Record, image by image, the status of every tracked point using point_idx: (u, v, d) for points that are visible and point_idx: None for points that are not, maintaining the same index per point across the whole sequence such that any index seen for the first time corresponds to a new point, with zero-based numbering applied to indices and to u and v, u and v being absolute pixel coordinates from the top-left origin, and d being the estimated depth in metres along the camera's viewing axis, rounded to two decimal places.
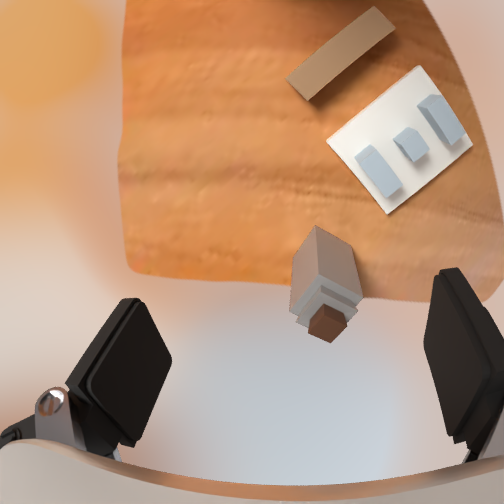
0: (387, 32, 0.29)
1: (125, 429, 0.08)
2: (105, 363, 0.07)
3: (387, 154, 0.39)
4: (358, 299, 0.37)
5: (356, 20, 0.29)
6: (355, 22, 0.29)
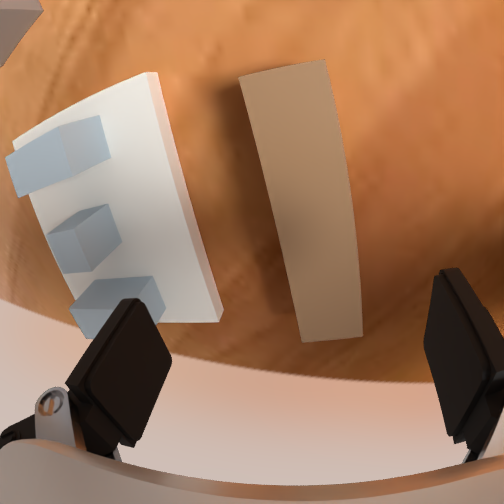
0: (302, 326, 0.19)
1: (125, 429, 0.08)
2: (105, 363, 0.07)
3: (86, 181, 0.19)
4: None
5: (357, 293, 0.17)
6: (355, 289, 0.17)
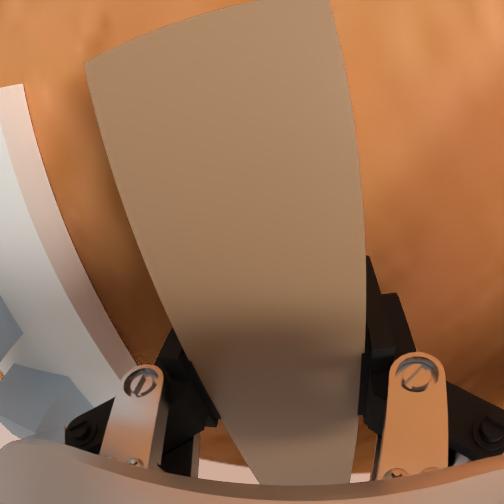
0: (260, 476, 0.11)
1: (212, 406, 0.08)
2: None
3: None
4: None
5: (348, 457, 0.09)
6: (345, 454, 0.09)
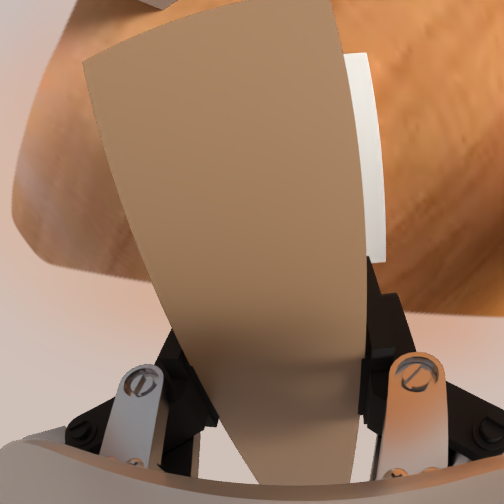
0: (260, 477, 0.11)
1: (213, 406, 0.08)
2: None
3: None
4: None
5: (348, 457, 0.09)
6: (345, 455, 0.09)
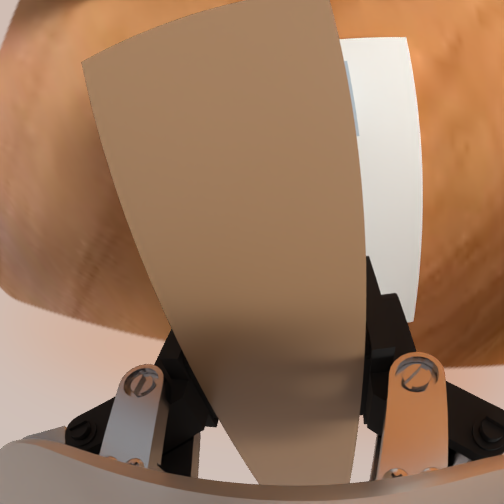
0: (259, 477, 0.11)
1: None
2: None
3: None
4: None
5: (348, 458, 0.09)
6: (345, 455, 0.09)
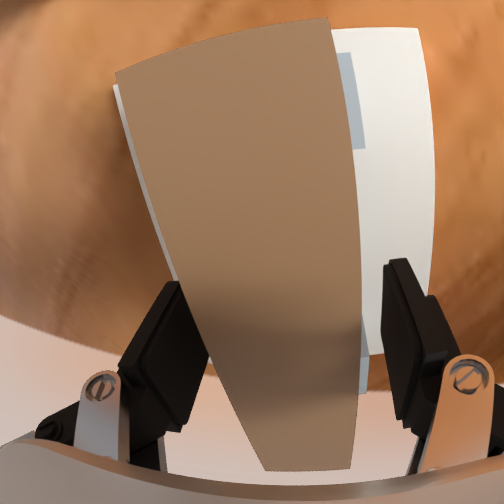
0: (264, 460, 0.12)
1: (174, 413, 0.08)
2: (159, 343, 0.08)
3: None
4: None
5: (349, 438, 0.10)
6: (346, 435, 0.10)
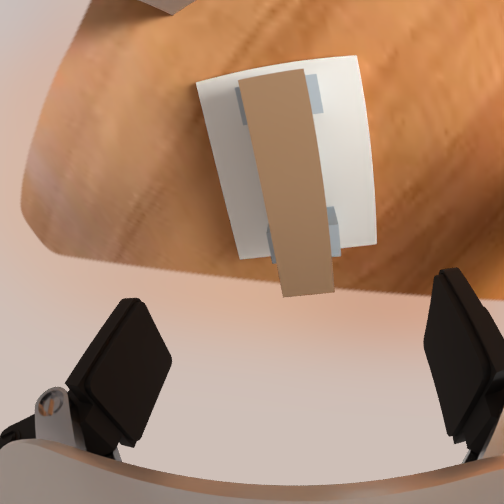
0: (283, 281, 0.24)
1: (125, 429, 0.08)
2: (105, 363, 0.07)
3: None
4: None
5: (328, 252, 0.22)
6: (326, 248, 0.22)
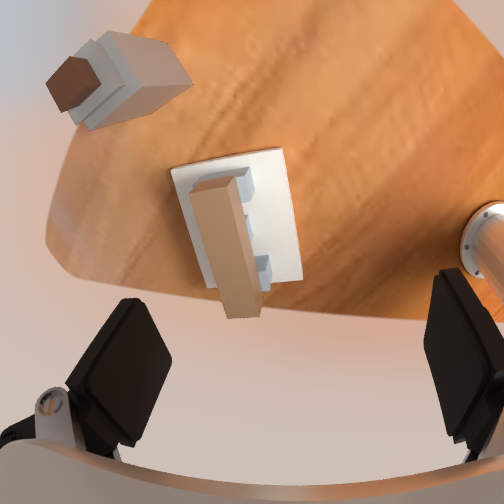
0: (226, 309, 0.37)
1: (125, 429, 0.08)
2: (105, 363, 0.07)
3: None
4: (89, 124, 0.24)
5: (251, 293, 0.35)
6: (250, 291, 0.35)
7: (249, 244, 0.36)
